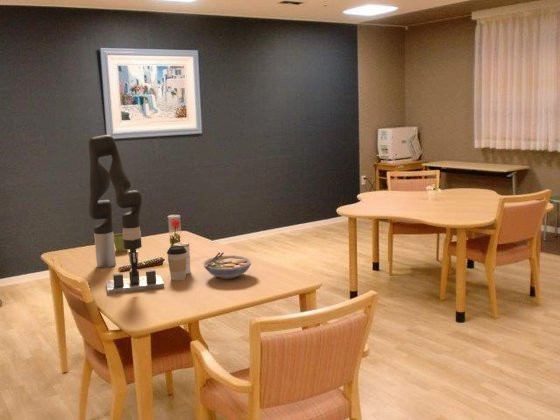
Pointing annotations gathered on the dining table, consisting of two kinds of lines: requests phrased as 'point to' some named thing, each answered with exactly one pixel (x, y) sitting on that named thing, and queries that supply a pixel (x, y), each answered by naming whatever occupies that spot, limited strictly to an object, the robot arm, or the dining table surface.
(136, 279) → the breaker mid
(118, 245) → the plant pot
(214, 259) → the ramen bowl
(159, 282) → the panel
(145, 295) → the dining table surface
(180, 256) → the coffee cup
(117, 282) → the block
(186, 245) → the syrup box
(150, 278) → the block
